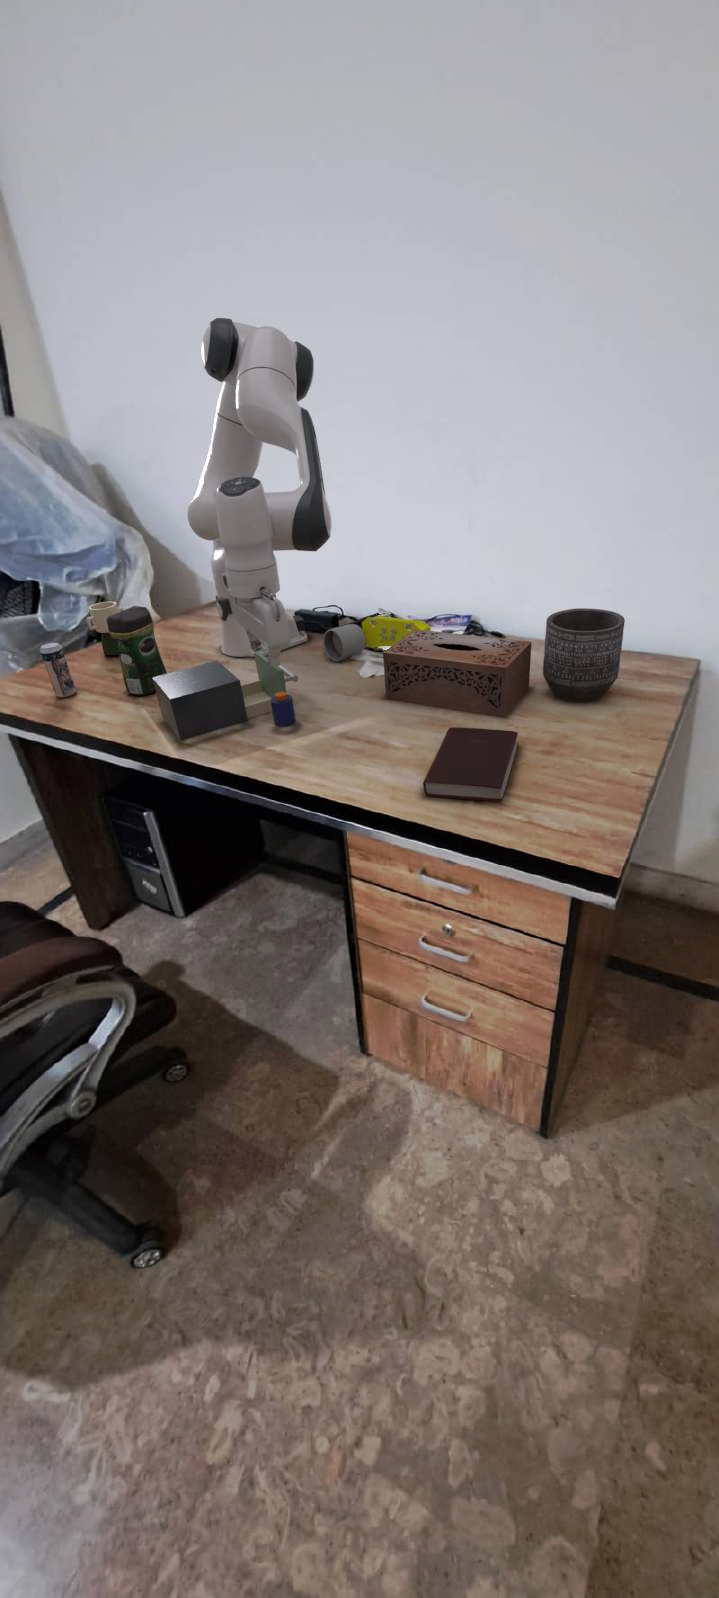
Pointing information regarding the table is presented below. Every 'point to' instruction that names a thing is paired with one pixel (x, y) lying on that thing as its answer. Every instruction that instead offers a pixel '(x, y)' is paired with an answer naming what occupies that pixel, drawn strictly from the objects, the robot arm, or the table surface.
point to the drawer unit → (200, 699)
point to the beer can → (58, 669)
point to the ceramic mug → (344, 641)
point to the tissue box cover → (458, 671)
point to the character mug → (103, 624)
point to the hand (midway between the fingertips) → (265, 657)
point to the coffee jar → (136, 649)
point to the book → (472, 764)
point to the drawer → (265, 686)
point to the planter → (582, 653)
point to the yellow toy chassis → (389, 630)
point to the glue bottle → (283, 709)
